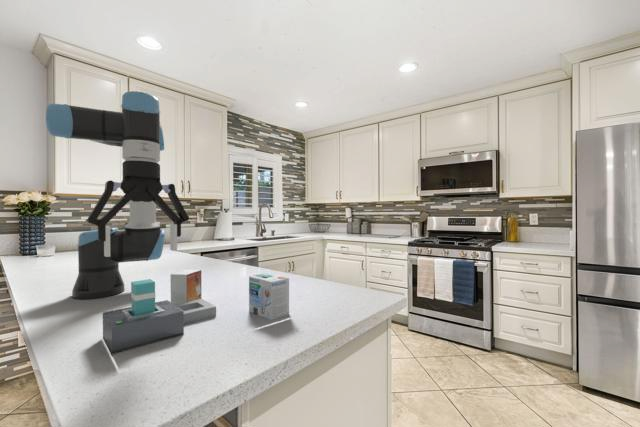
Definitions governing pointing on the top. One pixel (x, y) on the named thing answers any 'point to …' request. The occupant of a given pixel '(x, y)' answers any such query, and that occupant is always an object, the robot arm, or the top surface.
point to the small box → (185, 286)
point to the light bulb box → (269, 295)
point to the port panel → (141, 326)
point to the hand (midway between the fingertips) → (142, 253)
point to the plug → (142, 297)
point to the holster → (197, 310)
